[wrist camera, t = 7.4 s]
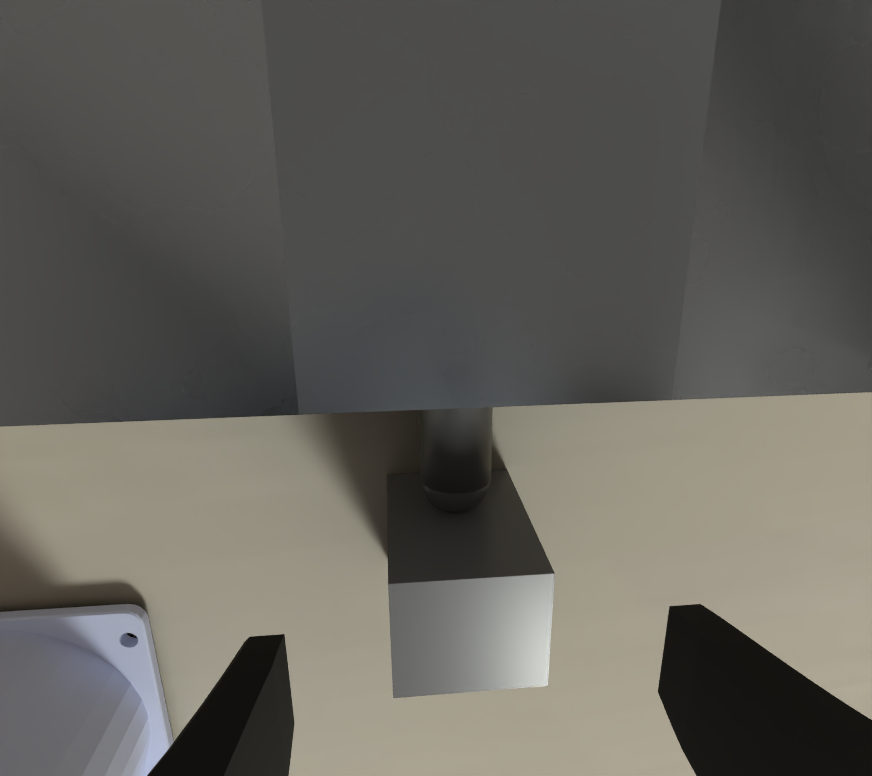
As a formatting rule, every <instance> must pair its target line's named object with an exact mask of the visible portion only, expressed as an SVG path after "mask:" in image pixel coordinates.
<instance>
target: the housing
mask: <svg viewBox="0 0 872 776" xmlns="http://www.w3.org/2000/svg"><path fill="white" fill-rule="evenodd" d="M859 392H872V0H0V426H23V425H49V424H74V423H99V422H125V421H150V420H175V419H201V418H226V417H251V416H277V415H302V414H327V413H353V412H378V411H403V410H429V409H454V408H479V407H505V406H530V405H555V404H581V403H606V402H631V401H657V400H682V399H707V398H732V397H758V396H783V395H808V394H834V393H859Z"/></svg>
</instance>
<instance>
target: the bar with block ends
mask: <svg viewBox="0 0 872 776" xmlns="http://www.w3.org/2000/svg"><path fill="white" fill-rule="evenodd" d="M419 453H420V473H414V474H394V475H387V501H388V589H389V612H390V635H391V658H392V680H393V698H400V697H413V696H425V695H438V694H451V693H463V692H476V691H489V690H501V689H514V688H527V687H540V686H548V672H549V656H550V639H551V623H552V607H553V591H554V575H555V573H554V571H553V569H552V567H551V565H550V562H549V560H548V558H547V556H546V554H545V552H544V549H543V547H542V545H541V543H540V541H539V538H538V536H537V534H536V532H535V530H534V528H533V525H532V523H531V521H530V519H529V517H528V514H527V512H526V510H525V508H524V506H523V504H522V501H521V499H520V497H519V495H518V493H517V490H516V488H515V486H514V484H513V482H512V480H511V477H510V475H509V473H508V471H507V469H497V470H491V455H492V407H479V408H454V409H429V410H419Z"/></svg>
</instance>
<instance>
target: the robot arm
mask: <svg viewBox="0 0 872 776" xmlns="http://www.w3.org/2000/svg"><path fill="white" fill-rule="evenodd" d="M126 633H132V634H134V635H135V636H136V637H137V638H133V637H130V636H128V635H127V634H126ZM658 693H659V696H660V698H661V700H662V703H663V705H664V708H665V710H666V713H667V715H668V718H669V720H670V723H671V725H672V727H673V730H674V732H675V734H676V736H677V739H678V741H679V743H680V745H681V748H682V750H683V752H684V753H685V755H686V757H687V759H688V761H689V763H690V765H691V766H692V768H693V770H694V772H695V774H696V775H697V776H872V720H871V719H869V718H867V717H866V716H864V715H863V714H861V713H859V712H858V711H856V710H855V709H853V708H852V707H850V706H848V705H847V704H845V703H844V702H842V701H841V700H839V699H838V698H836V697H835V696H833V695H832V694H830V693H829V692H827V691H826V690H824V689H823V688H821V687H820V686H818V685H817V684H815V683H814V682H812V681H811V680H809V679H808V678H806V677H805V676H803V675H802V674H801V673H799V672H798V671H796V670H795V669H793V668H792V667H790V666H789V665H787V664H786V663H785V662H783V661H782V660H780V659H779V658H777V657H776V656H775V655H773V654H772V653H770V652H769V651H768V650H766V649H765V648H763V647H762V646H760V645H759V644H758V643H756V642H755V641H753V640H752V639H751V638H749V637H748V636H746V635H745V634H744V633H742V632H741V631H739V630H738V629H736V628H735V627H734V626H732V625H731V624H729V623H728V622H726V621H725V620H724V619H722V618H721V617H719V616H718V615H716V614H715V613H713V612H712V611H710V610H709V609H707V608H706V607H704V606H703V605H701V604H695V605H682V606H670V607H669V615H668V622H667V629H666V637H665V644H664V651H663V658H662V666H661V673H660V680H659V688H658ZM293 730H294V716H293V707H292V698H291V689H290V680H289V671H288V663H287V654H286V645H285V636H284V634H282V635H268V636H254V637H249V638H248V639H247V640H246V641H245V642H244V643H243V645H242V647H241V648H240V650H239V651H238V653H237V654H236V656H235V657H234V659H233V660H232V662H231V663H230V665H229V666H228V668H227V669H226V671H225V672H224V674H223V675H222V677H221V678H220V679H219V681H218V682H217V684H216V685H215V687H214V688H213V689H212V691H211V692H210V694H209V695H208V697H207V698H206V699H205V701H204V702H203V704H202V705H201V706H200V708H199V709H198V710H197V712H196V713H195V714H194V716H193V717H192V718H191V720H190V721H189V722H188V724H187V725H186V726H185V728H184V729H183V731H182V732H181V733H180V735H179V736H178V737H177V739H176V740H175V741H174V742H173V737H172V732H171V727H170V722H169V718H168V713H167V708H166V703H165V698H164V693H163V688H162V683H161V678H160V673H159V668H158V663H157V658H156V653H155V648H154V643H153V638H152V633H151V628H150V623H149V618H148V615H147V613H146V611H145V610H144V609H142V608H141V607H139V606H137V605H134V604H118V605H102V606H86V607H71V608H55V609H39V610H23V611H7V612H0V776H288V774H289V766H290V758H291V749H292V739H293Z"/></svg>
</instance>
